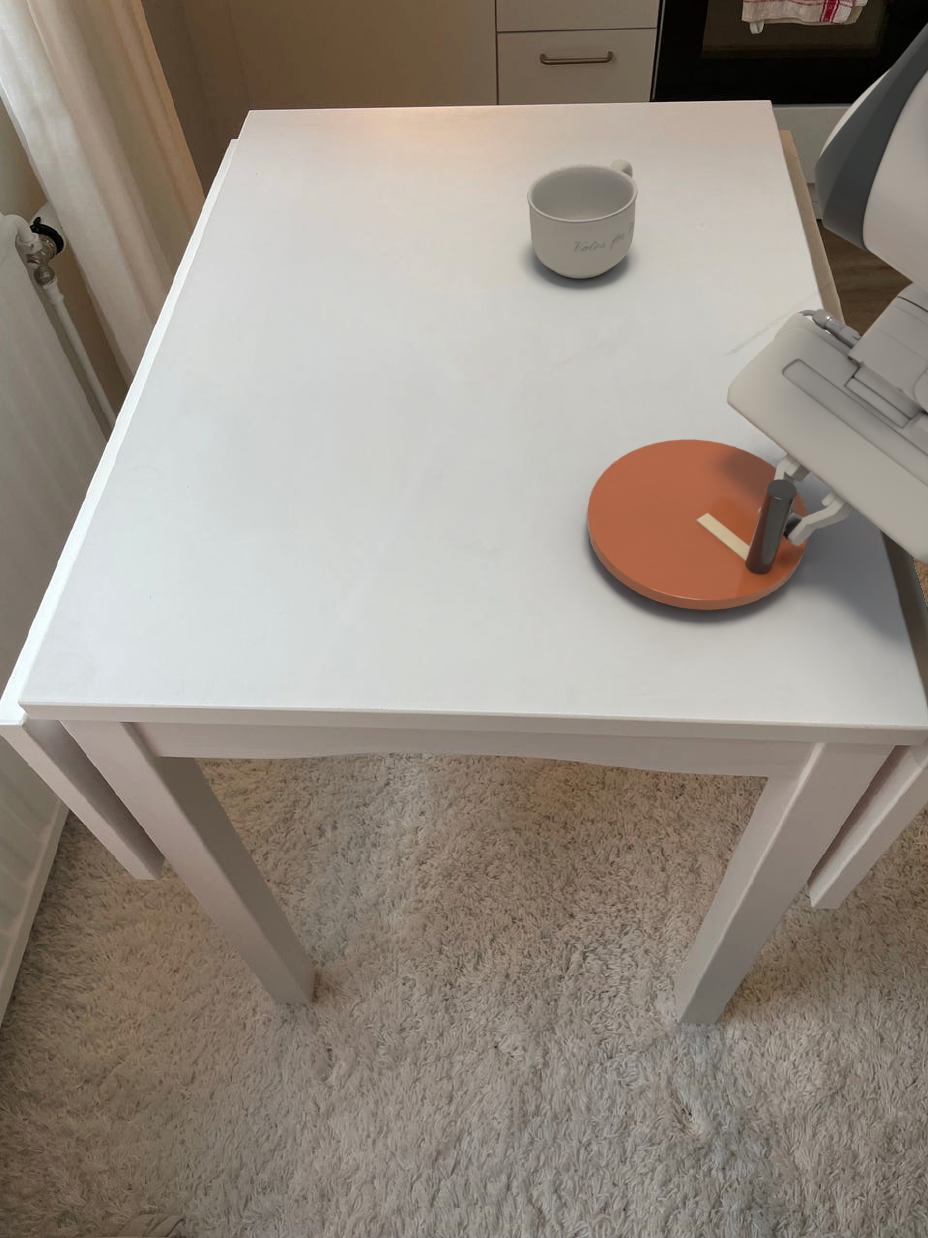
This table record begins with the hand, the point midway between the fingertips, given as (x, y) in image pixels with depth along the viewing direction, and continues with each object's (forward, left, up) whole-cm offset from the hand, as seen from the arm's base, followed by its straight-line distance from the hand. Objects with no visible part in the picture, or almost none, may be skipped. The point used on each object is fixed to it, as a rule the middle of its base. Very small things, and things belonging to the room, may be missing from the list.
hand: (777, 529), depth 70 cm
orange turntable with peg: (+6, -2, -4) cm, 7 cm away
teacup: (+24, -38, -5) cm, 45 cm away
